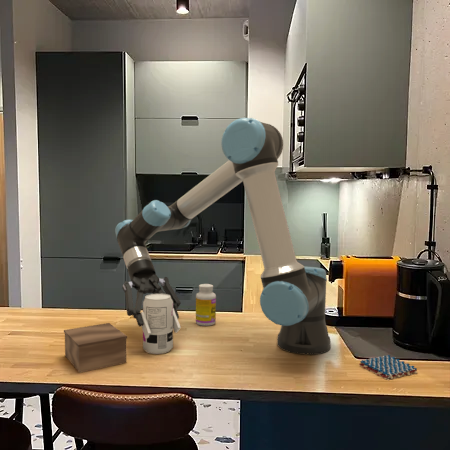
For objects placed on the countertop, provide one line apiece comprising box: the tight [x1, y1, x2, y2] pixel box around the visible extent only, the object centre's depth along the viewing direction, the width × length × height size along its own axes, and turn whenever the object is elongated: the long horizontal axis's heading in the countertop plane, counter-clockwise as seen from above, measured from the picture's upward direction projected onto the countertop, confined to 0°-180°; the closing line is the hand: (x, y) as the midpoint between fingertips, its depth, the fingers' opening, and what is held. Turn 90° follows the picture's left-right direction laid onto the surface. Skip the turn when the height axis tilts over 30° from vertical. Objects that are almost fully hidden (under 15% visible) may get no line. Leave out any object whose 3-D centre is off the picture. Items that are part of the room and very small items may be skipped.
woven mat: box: [359, 354, 418, 381], centre depth 116 cm, size 10×11×2 cm
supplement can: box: [142, 293, 174, 355], centre depth 127 cm, size 8×8×15 cm
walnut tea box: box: [63, 322, 128, 373], centre depth 120 cm, size 13×12×7 cm
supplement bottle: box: [195, 283, 217, 327], centre depth 152 cm, size 7×7×13 cm
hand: (163, 332), depth 125 cm, fingers closed on supplement can, 8 cm apart
